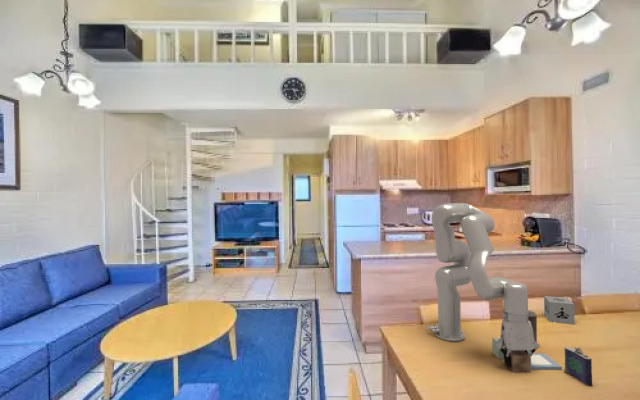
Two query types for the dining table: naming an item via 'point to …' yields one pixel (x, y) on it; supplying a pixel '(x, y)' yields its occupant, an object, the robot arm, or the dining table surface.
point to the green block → (496, 350)
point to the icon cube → (559, 310)
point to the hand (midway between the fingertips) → (517, 365)
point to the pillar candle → (533, 322)
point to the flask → (578, 365)
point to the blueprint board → (543, 362)
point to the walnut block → (520, 362)
